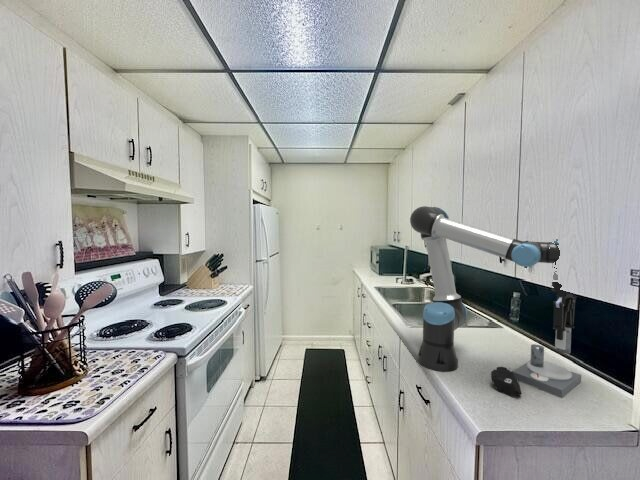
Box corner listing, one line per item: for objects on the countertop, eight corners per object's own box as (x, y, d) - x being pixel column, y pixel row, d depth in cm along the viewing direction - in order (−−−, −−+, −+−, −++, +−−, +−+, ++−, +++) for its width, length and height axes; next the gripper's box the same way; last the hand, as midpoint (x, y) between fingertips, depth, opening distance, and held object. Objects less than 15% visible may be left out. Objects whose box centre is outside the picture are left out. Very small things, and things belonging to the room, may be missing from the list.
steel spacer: (567, 354, 103) (568, 334, 102) (553, 350, 106) (554, 330, 106) (572, 351, 105) (572, 332, 105) (558, 347, 108) (559, 328, 108)
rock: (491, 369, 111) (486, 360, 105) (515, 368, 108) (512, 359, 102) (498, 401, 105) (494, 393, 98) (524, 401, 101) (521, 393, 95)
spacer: (540, 368, 110) (541, 349, 109) (528, 364, 113) (529, 346, 113) (545, 365, 112) (546, 347, 111) (533, 361, 115) (533, 343, 115)
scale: (561, 397, 97) (562, 387, 97) (511, 377, 110) (511, 368, 109) (581, 381, 107) (581, 372, 107) (533, 365, 120) (533, 356, 119)
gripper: (569, 285, 96) (566, 356, 98) (587, 280, 106) (584, 344, 107) (542, 282, 103) (540, 348, 104) (561, 277, 112) (559, 338, 113)
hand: (562, 346), depth 106 cm, fingers closed on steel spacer, 4 cm apart
